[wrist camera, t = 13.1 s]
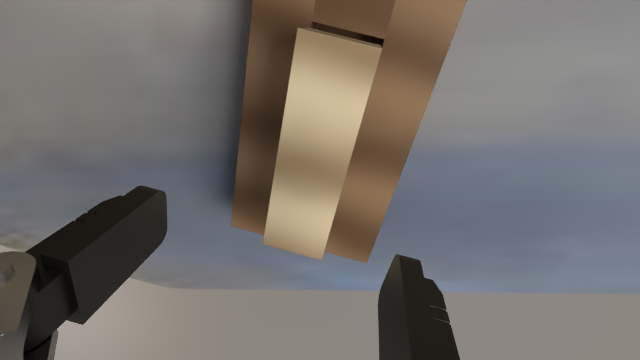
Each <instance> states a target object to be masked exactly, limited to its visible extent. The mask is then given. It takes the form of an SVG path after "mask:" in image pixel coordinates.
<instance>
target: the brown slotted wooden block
mask: <svg viewBox="0 0 640 360" xmlns="http://www.w3.org/2000/svg"><path fill="white" fill-rule="evenodd" d="M466 2H467V0H253V2H252V13H251V23H250V33H249V44H248V54H247V65H246V75H245V85H244V96H243V106H242V117H241V127H240V138H239V148H238V158H237V169H236V179H235V190H234V200H233V210H232V221H231V226H233V227H237V228H240V229H244V230H248V231H251V232H255V233H259V234H262V235H264V233H265V227H266V221H267V215H268V209H269V202H270V196H271V190H272V184H273V178H274V171H275V165H276V159H277V153H278V147H279V140H280V134H281V128H282V122H283V116H284V110H285V103H286V97H287V91H288V85H289V79H290V72H291V66H292V60H293V54H294V48H295V41H296V35H297V29H298V28H312V29H316V30H320V31H324V32H328V33H332V34H336V35H340V36H344V37H348V38H352V39H356V40H361V41H365V42H369V43H373V44H377V45H381V47H382V51H381V55H380V58H379V62H378V65H377V69H376V72H375V75H374V79H373V82H372V86H371V89H370V93H369V96H368V100H367V103H366V107H365V110H364V114H363V117H362V121H361V124H360V128H359V131H358V135H357V138H356V142H355V145H354V149H353V152H352V156H351V159H350V163H349V166H348V170H347V173H346V177H345V180H344V184H343V187H342V191H341V194H340V198H339V201H338V205H337V208H336V212H335V215H334V219H333V222H332V226H331V229H330V233H329V236H328V240H327V243H326V247H325V250H324V252H328V253H331V254H335V255H339V256H342V257H346V258H350V259H353V260H357V261H360V262H364V263H367V262H368V259H369V256H370V254H371V251H372V248H373V246H374V243H375V241H376V238H377V235H378V233H379V230H380V227H381V225H382V222H383V220H384V217H385V214H386V212H387V209H388V206H389V204H390V201H391V199H392V196H393V193H394V191H395V188H396V185H397V183H398V180H399V178H400V175H401V172H402V170H403V167H404V164H405V162H406V159H407V157H408V154H409V151H410V149H411V146H412V143H413V141H414V138H415V135H416V133H417V130H418V128H419V125H420V122H421V120H422V117H423V114H424V112H425V109H426V107H427V104H428V101H429V99H430V96H431V93H432V91H433V88H434V86H435V83H436V80H437V78H438V75H439V72H440V70H441V67H442V65H443V62H444V59H445V57H446V54H447V51H448V49H449V46H450V44H451V41H452V38H453V36H454V33H455V30H456V28H457V25H458V23H459V20H460V17H461V15H462V12H463V9H464V7H465V4H466Z"/></svg>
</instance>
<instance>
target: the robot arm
mask: <svg viewBox="0 0 640 360" xmlns="http://www.w3.org/2000/svg"><path fill="white" fill-rule="evenodd" d="M166 232H167V204H166V194H165V192H163V191H161V190H157V189H153V188H149V187H145V186H138V187H136V188H135V189H133V190H132V191H130V192H129V193H127V194H126V195H124V196H117V197H114V198H112V199H109V200H106V201H103V202H101V203H100V204H98V205H97V206H95V207H93V208H92V209H90V210H89V211H88V213H84V214H83V215H81V216H80V217H78V218H77V219H76V221H72V222H70V223H69V224H67V225H66V226H64V227H63V228H61V229H60V230H58V231H57V232H55V233H54V234H52V235H51V236H49V237H48V238H46V239H44V240H43V241H41V242H40V243H38V244H37V245H35V246H34V247H32V248H31V249H29V250H28V251H26V252H18V251H11V252H2V253H0V360H54V355H55V349H56V344H57V338H58V331H57V328H58V327H59V326H60V325H61V324H62V323H63V322H65V320H68V321H71V322H75V323H78V324H82V325H83V324H84V323H85V322H86V321H87V320H88V319H89V318H90V317H91V316H92V315H93V314H94V312H96V311H97V310H98V309H99V308H100V307H101V306H102V304H103V303H104V302H105V301H106V300H107V299H108V298H109V297H110V296H111V295H112V294H113V293H114V292H115V291H116V290H117V289H118V288H119V287H120V286H121V285H122V284H123V283H124V282H125V281H126V279H128V278H129V277H130V276H131V274H132V273H133V272H134V271H135V270H136V269H137V268H138V267H139V266H140V265H141V264H142V263H143V262H144V261H145V260H146V259H147V258H148V257H149V256H150V255H151V254H152V253H153V252H154V251H155V250H156V249H157V248H158V247H159V245H160V244H161V243H162V241H163V240H164V238H165V235H166ZM378 320H379V360H460V358H459V354H458V350H457V347H456V343H455V339H454V335H453V332H452V328H451V325H450V324H449V323H450V320H449V317H448V313H447V312H446V305H445V302H444V298H443V294H442V293H441V291H440V290H439V288H438V287H437V285H436V284H435V283H434V281H433V280H431V279H427V278H424V275H423V271H422V266H421V262H420V260H417V259H413V258H410V257H406V256H402V255H398V254H396V255H395V257H394V259H393V261H392V263H391V266H390V268H389V270H388V272H387V275H386V277H385V279H384V282H383V284H382V287H381V290H380V294H379V300H378Z"/></svg>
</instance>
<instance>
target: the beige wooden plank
mask: <svg viewBox="0 0 640 360" xmlns="http://www.w3.org/2000/svg"><path fill="white" fill-rule="evenodd" d="M381 51H382V47H381V45H377V44H373V43H369V42H365V41H361V40H356V39H352V38H348V37H344V36H340V35H336V34H332V33H328V32H324V31H320V30H316V29H312V28H298V29H297V35H296V41H295V48H294V54H293V60H292V66H291V72H290V79H289V85H288V91H287V97H286V103H285V110H284V116H283V122H282V128H281V134H280V140H279V147H278V153H277V159H276V165H275V171H274V178H273V184H272V190H271V196H270V202H269V209H268V215H267V221H266V227H265V233H264V240H263V244H265V245H269V246H272V247H276V248H279V249H283V250H287V251H290V252H294V253H298V254H301V255H305V256H308V257H312V258H316V259H319V260H322V257H323V254H324V250H325V247H326V243H327V240H328V236H329V233H330V229H331V226H332V222H333V219H334V215H335V212H336V208H337V205H338V201H339V198H340V194H341V191H342V187H343V184H344V180H345V177H346V173H347V170H348V166H349V163H350V159H351V156H352V152H353V149H354V145H355V142H356V138H357V135H358V131H359V128H360V124H361V121H362V117H363V114H364V110H365V107H366V103H367V100H368V96H369V93H370V89H371V86H372V82H373V79H374V75H375V72H376V69H377V65H378V62H379V58H380V55H381Z"/></svg>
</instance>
